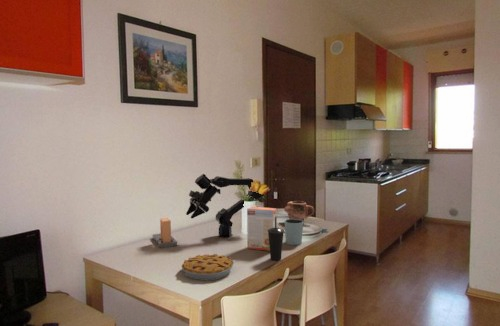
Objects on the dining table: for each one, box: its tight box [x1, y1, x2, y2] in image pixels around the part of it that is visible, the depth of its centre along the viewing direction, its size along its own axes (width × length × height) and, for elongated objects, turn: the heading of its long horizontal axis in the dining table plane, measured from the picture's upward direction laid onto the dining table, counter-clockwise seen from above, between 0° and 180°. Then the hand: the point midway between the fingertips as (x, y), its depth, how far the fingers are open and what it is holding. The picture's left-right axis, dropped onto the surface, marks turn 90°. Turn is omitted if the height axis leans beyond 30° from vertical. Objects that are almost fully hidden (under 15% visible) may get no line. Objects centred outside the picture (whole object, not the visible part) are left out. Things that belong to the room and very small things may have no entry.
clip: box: [159, 217, 172, 243], centre depth 195 cm, size 7×4×13 cm, turn 25°
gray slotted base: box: [152, 233, 178, 249], centre depth 199 cm, size 20×9×2 cm, turn 25°
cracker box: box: [246, 206, 277, 252], centre depth 186 cm, size 14×6×21 cm, turn 69°
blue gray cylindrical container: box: [284, 218, 305, 246], centre depth 196 cm, size 10×10×12 cm
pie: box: [181, 253, 235, 281], centre depth 156 cm, size 22×22×5 cm
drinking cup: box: [268, 216, 285, 262], centre depth 170 cm, size 8×8×20 cm
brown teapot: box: [283, 200, 315, 223], centre depth 239 cm, size 20×12×14 cm, turn 72°
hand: (188, 216), depth 200 cm, fingers open, 9 cm apart
